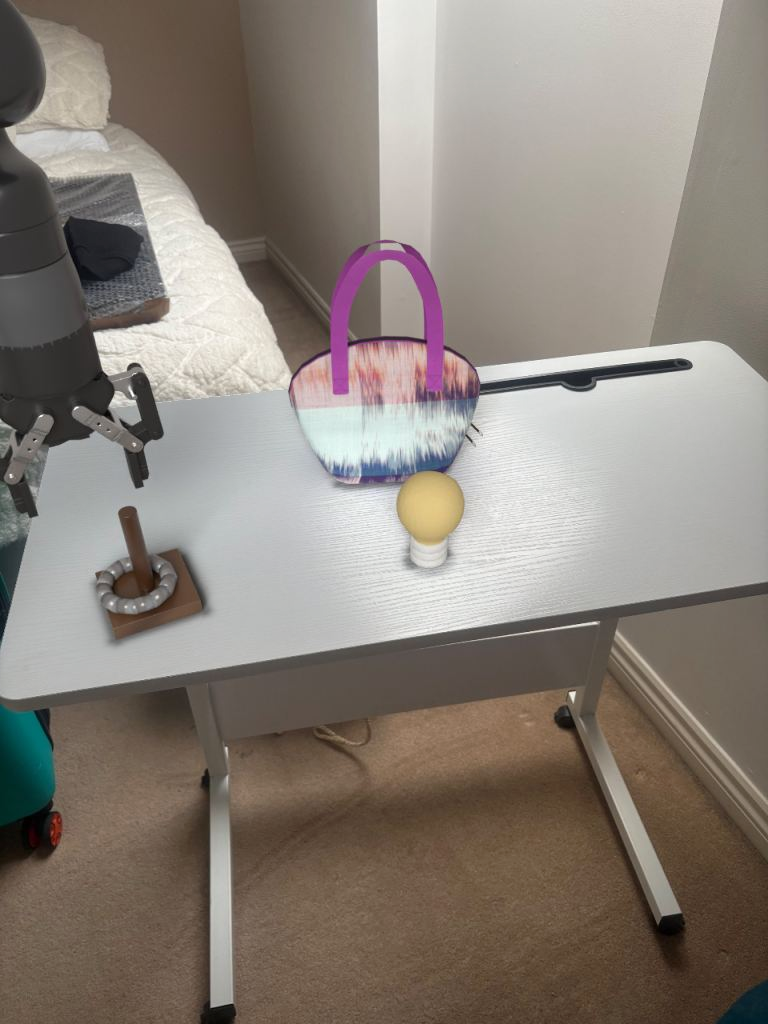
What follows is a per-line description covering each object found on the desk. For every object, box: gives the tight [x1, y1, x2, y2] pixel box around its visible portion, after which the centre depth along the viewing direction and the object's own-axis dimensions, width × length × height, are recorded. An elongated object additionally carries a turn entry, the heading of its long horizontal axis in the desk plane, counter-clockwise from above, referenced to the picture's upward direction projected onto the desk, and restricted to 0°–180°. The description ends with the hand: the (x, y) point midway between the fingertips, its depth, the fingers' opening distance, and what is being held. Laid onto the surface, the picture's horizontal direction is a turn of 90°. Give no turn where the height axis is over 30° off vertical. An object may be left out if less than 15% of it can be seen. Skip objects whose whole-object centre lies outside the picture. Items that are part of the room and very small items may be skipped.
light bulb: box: [395, 471, 466, 569], centre depth 79 cm, size 6×6×10 cm
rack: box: [94, 505, 204, 640], centre depth 75 cm, size 8×8×10 cm
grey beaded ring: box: [94, 554, 178, 614], centre depth 76 cm, size 7×7×1 cm
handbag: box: [287, 239, 484, 485], centre depth 87 cm, size 21×10×25 cm, turn 94°
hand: (85, 497), depth 69 cm, fingers open, 8 cm apart
